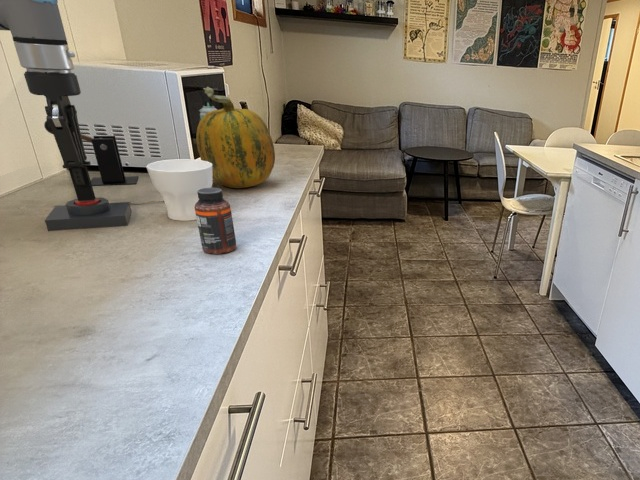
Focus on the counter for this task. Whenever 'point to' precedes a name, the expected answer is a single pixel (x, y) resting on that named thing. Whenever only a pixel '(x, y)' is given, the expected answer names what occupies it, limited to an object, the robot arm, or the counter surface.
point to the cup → (180, 184)
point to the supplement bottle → (214, 221)
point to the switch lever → (81, 134)
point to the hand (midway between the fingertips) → (86, 199)
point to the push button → (87, 202)
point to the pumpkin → (235, 144)
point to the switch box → (88, 215)
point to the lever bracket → (109, 163)
